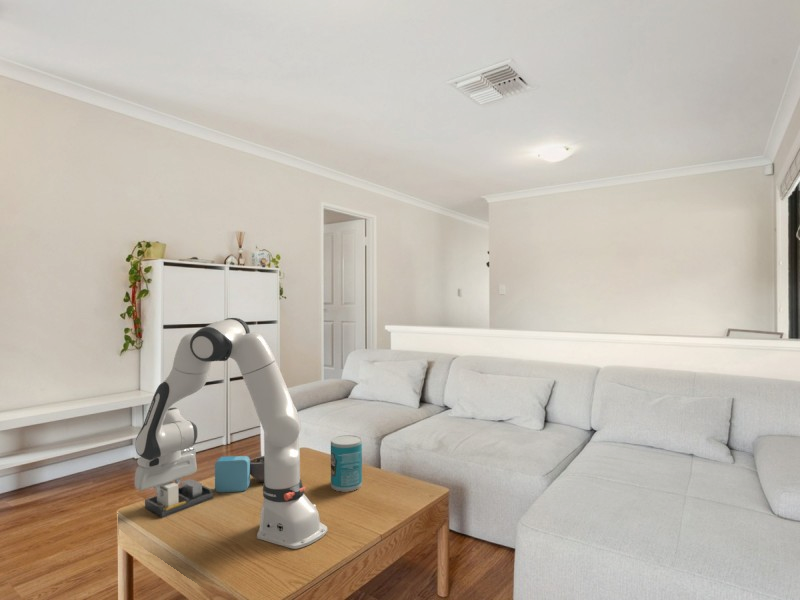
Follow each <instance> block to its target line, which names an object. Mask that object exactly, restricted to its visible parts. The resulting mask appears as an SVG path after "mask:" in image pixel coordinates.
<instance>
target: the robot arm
mask: <svg viewBox="0 0 800 600" xmlns="http://www.w3.org/2000/svg"><path fill="white" fill-rule="evenodd" d="M229 358H231V359H232V360H234V362H236V364H237V366H238V368H239V372H240V374H241V376H242V378H243V381H244V383H245V386H246V388H247V390H248V393H249V394H250V397H251V400H252V402H253V406H254V408H255V411H256V414H257V416H258V419H259V420H258V421H259V422H260V424H261V427H262V430H263V435H264V436H263V440H264V441H263V447H264V448H263V451H264V453H263V456H264V481H265V482H263V484H262V496H263V503H262V506H261V508H260V511H261V512H260V519H259V529H258V532H257V533H256V538H257V539H258V540H262V541H265V542H269V543H272V544H274V545H279V546H282V547H285V548H289V549H293V550H296V549H301V548H304V547H307V546H310V545H312V544H313V543H315V542H317V541H318V540H320V539H321V538H323V537H324V536H325V535H326V534H327V532H328V531H329V530H328V526H327V525H325V524H324V523H322V522H321V521H320V520H321V519H320V514H319V511H318V509H317V506H316V504H315V503H314V504H313V503H312V502H311V501H310V499H309V498H308V497H307V496H306V495H305V491H306V490H307V489H306V488H307V486H306V485H305V486H303V482H302V479H301V455H300V437H299V436H300V433H301V430H302V422H301V418H300V415H299V413H298V410H297V408H296V406H295V404H294V402H293V399H292V397H291V393H290V392H289V389H288V387H287V384H286V381H285V379H284V376H283V374H282V372H281V369H280V367H279V363H278V362H277V360H276V357H275V355H274V353H273V351H272V350H271V347H270V346H269V344H268V342H267V341H266V340H265V338H264V337H263V335H262V334H260V333H259V332H251V331H250V328H249V325H248V324H247V323H246V321H244V320H243V319H241V318H238V317H228V318H225V319H223V320H220V321H215V322H212V323H210V324H208V325H206V326H205V327H202V328H199V329H198V330H197V331H196V332H193V333H189V334H186V335H184V336H183V337H182V338H181V339H180V341H179V343H178V345H177V349H176V352H175V355H174V360H173V362H172V363H173V364H172V368H171V370H170V372H169V374H168V375H167V377H166V378H165V380H163V382H161V383H160V384H159V385H158V386H157V389H156V390H155V391H154V395H153V397H152V400H151V403H150V405H149V408H148V410H147V413H146V415H145V419H144V422H143V424H142V427H141V428H140V430H139V432H138V434H137V436H136V439H135V443H134V444H135V446H134V447H135V451H136V454H137V455H138V456H139V458H137V462H136V463H137V465H138V466H137V467H136V469H135V475H134V487H135V489H137V490H138V491H145V490H149V489H151V488H154V491H155V492H156V496H157V497H162V496H164V494H163V493H164V491H162V490H160V489H159V488H160V484H163V483H167V482H170V481H171V482H173V481H174V483H176V484H178V486H179V485H180V484H181V482H182V478H184V477H187V476H191V475H193V474H196V472H197V471H198V470H197V469H198V467H197V466H198V465H197V459H196V457H197V456H196V455H197V454H196V450H195V449H194V448H193V446H194V445H195V443H196V441H198V440H197V439H198V427H197V425H196V424H195V423H194V422H192V421H191V420H187V419H186V418H184V417H183V416H182V414H181V411H180V409H179V408H178V407H172V406H174V404H176V403H177V402H179V401H181V400H183V399H184V398H186V397H188V396H192V395H193V394H195V393H197V392H198V391H200V390H201V389H202V388H203V387H205V385H206V383H207V381H208V378H209V375H210V369H211V363H212V362H226V361H228V360H229Z"/></svg>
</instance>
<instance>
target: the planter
mask: <svg viewBox="0 0 800 600" xmlns="http://www.w3.org/2000/svg"><path fill="white" fill-rule="evenodd" d="M250 477H252V478H254V479H256V480H257V482H263V483H264V482H265V481H264V455H262V456H257V457H254V458H251V459H250Z"/></svg>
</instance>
